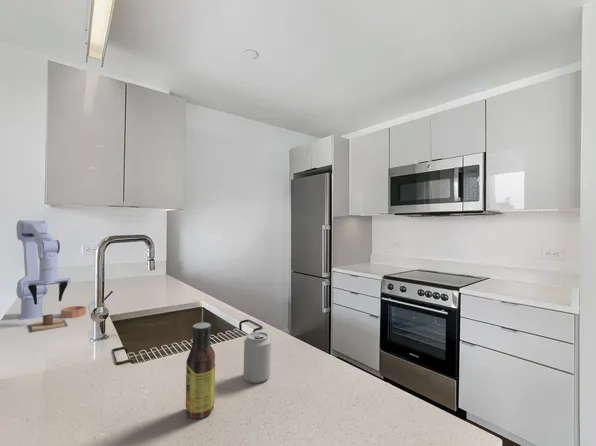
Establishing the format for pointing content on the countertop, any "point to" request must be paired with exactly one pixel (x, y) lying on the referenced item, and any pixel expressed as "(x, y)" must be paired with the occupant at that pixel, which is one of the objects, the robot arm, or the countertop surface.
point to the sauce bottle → (200, 373)
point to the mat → (45, 329)
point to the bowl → (73, 312)
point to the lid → (47, 323)
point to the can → (257, 357)
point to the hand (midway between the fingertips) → (48, 302)
